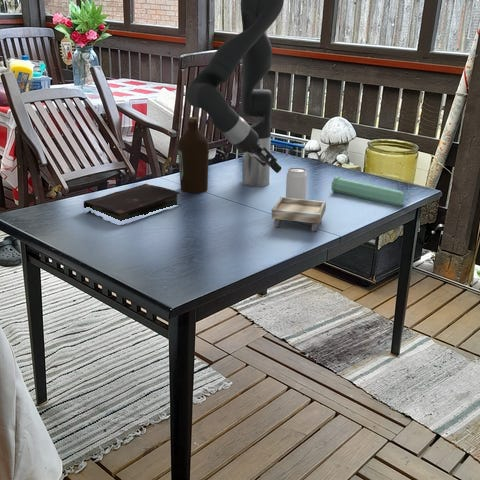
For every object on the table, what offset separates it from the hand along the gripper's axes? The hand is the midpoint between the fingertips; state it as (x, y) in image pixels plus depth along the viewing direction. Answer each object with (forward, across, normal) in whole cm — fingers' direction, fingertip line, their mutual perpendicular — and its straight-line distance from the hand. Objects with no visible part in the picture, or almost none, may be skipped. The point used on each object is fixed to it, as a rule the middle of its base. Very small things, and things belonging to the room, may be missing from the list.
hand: (272, 167), depth 183 cm
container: (+35, -4, -15) cm, 38 cm away
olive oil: (0, +29, +20) cm, 35 cm away
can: (+16, 0, +4) cm, 17 cm away
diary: (-18, +18, +38) cm, 46 cm away
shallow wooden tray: (+11, -15, +9) cm, 20 cm away
